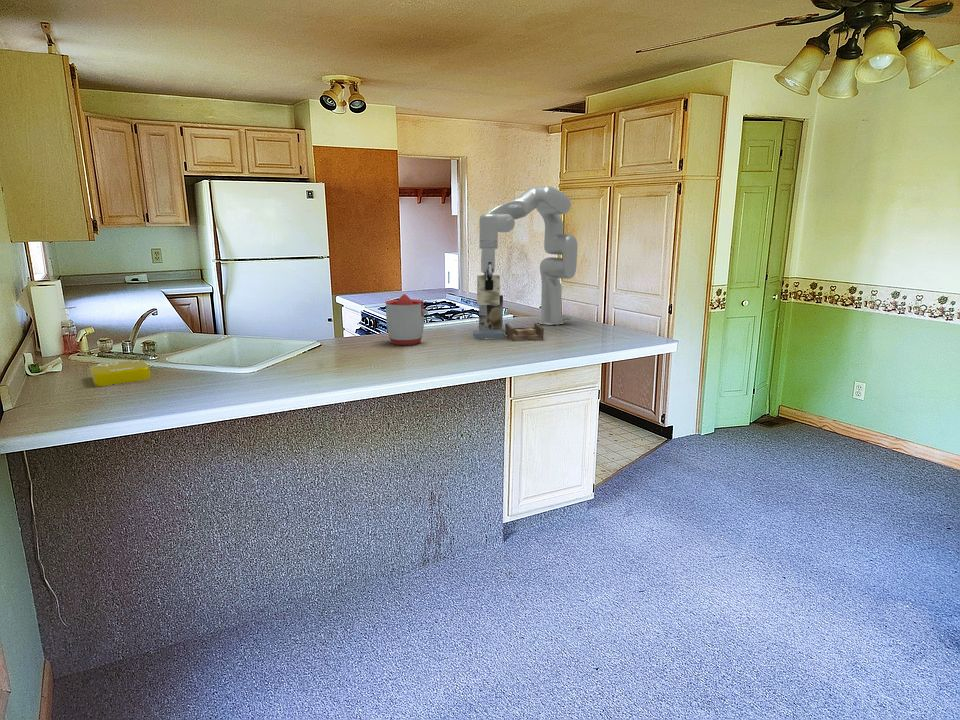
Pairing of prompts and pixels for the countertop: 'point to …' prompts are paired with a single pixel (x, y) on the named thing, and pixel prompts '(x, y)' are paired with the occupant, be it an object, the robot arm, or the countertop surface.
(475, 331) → the slate board
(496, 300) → the tall cream block
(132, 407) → the countertop surface
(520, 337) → the walnut rack
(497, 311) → the coffee box
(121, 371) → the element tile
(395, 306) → the citrus juicer
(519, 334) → the upper oak offcut
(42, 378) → the countertop surface
